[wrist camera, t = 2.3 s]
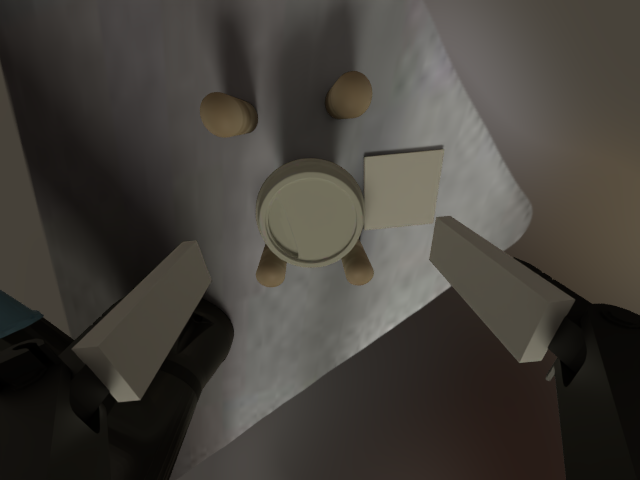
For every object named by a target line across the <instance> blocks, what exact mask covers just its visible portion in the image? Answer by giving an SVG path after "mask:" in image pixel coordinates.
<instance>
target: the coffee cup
mask: <svg viewBox="0 0 640 480" xmlns="http://www.w3.org/2000/svg"><path fill="white" fill-rule="evenodd" d="M256 221H257V225H258V229H259V231H260V234H261V236H262V237H263V239H264V241H265V243H266V245H267V246H268V247H269V249H270V250H271V251H272V252H273V253H274V254H275V255H276V256H278V257H279V258H280V259H282V260H284V261H285V262H288V263H290V264H293V265H296V266H300V267H310V268H312V267H322V266H326V265H329V264H332V263H334V262H336V261H338V260H339V259H341V258H342V257H344V256H345V255H346V254H347V253H349V251H350V250H351V249H352V248H353V247H354V245H355V244H356V242H357V241H358V239H359V236H360V234H361V231H362V228H363V225H364V221H365V204H364V198H363V195H362V192H361V189H360V187H359V185H358V184H357V182H356V181H355V179H354V178H353V177H352V176H351V175H350V174H349V173H348V172H347V171H346V170H345V169H343V168H342V167H340V166H339V165H337V164H335V163H332V162H330V161H327V160H323V159H317V158H304V159H298V160H294V161H291V162H289V163H286V164H284V165H282V166H281V167H279V168H278V169H276V170H275V171H274V172H273V173H272V174H271V175H270V176H269V177H268V178H267V179H266V181H265V182H264V184H263V185H262V187H261V189H260V191H259V194H258V197H257V202H256Z"/></svg>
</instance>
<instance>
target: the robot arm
mask: <svg viewBox="0 0 640 480" xmlns="http://www.w3.org/2000/svg"><path fill="white" fill-rule="evenodd" d="M429 260H430V261H431V262H432V263H433V265H434V266H435V267H436V268H437V269H438V270H439V271H440V273H441V274H442V275H443V276H444V277H445V278H446V279H447V281H448V282H449V283H450V284H451V285H452V286H453V287H454V289H455V290H456V291H457V292H458V293H459V294H460V295H461V297H462V298H463V299H464V300H465V301H466V302H467V303H468V305H469V306H470V307H471V308H472V309H473V310H474V311H475V313H476V314H477V315H478V316H479V317H480V318H481V320H482V321H483V322H484V323H485V324H486V325H487V326H488V327H489V329H490V330H491V331H492V332H493V333H494V334H495V336H496V337H497V338H498V339H499V340H500V341H501V342H502V343H503V345H504V346H505V347H506V348H507V349H508V350H509V351H510V353H511V354H512V355H513V356H514V357H515V358H516V360H517V361H518V362H519V363H522V362H532V361H541V360H542V359H543V357H544V355H545V353H546V351H547V350H548V349H550V350H551V351H552V352H553V353H554V354H555V355H556V356H557V359H556V360H555V362H554V364H553V365H552V367H551V369H550V370H549V372H548V374H547V376H546V380H549V381H550V380H551V379H552V377H553V376H555V379H556V389H557V398H558V408H559V417H560V427H561V435H562V445H563V455H564V464H565V474H566V480H640V315H638V314H635V313H633V312H631V311H629V310H626V309H623V308H620V307H617V306H613V305H608V304H592V303H590V302H589V301H587V300H585V299H584V298H582V297H581V296H579V295H577V294H576V293H575V292H573V291H571V290H570V289H568V288H567V287H565V286H564V285H562V284H560V283H559V282H557V281H556V280H552V278H551V277H550V276H548V275H547V274H545V273H542V272H541V271H540V270H539V269H537V268H536V267H534V266H532V265H531V264H529V263H527V262H525V261H522V260H519V259H517V258H515V257H514V258H512V257H511V256H509V255H508V254H506V253H505V252H503V251H502V250H500V249H499V248H497V247H496V246H494V245H493V244H491V243H490V242H488V241H487V240H485V239H484V238H482V237H481V236H479V235H478V234H476V233H475V232H473V231H472V230H470V229H469V228H467V227H466V226H464V225H463V224H461V223H460V222H458V221H457V220H455V219H454V218H452V217H451V216H444V217H436V221H435V228H434V234H433V240H432V246H431V253H430V259H429ZM211 281H212V280H211V277H210V275H209V272H208V269H207V267H206V264H205V261H204V259H203V256H202V253H201V251H200V248H199V245H198V243H197V240H195V241H185V242H182V243H181V244H180V245H179V246H178V247H177V248H176V249H174V250H173V251H172V252H171V253H170V254H169V255H168V256H167V257H166V258H165V259H164V260H163V261H162V262H161V263H160V264H159V265H158V266H157V267H156V268H155V269H154V270H153V271H152V272H151V273H150V274H149V275H148V276H147V277H145V278H144V279H143V280H142V281H141V282H140V283H139V284H138V285H137V286H136V287H135V288H134V289H133V290H132V291H131V292H130V293H129V294H128V295H127V296H125V297H124V298H122V299H121V300H119V301H118V302H116V303H115V304H113V305H112V306H111V307H110V308H109V309H108V310H106V311H105V312H104V313H103V314H102V317H99V318H98V319H97V320H96V321H95V322H94V323H93V325H91V326H89V327H88V328H87V329H86V330H85V331H84V332H83V333H82V334H81V335H80V336H79V337H78V338H77V339H76V340H73V339H72V338H71V337H69V336H68V335H66V334H65V333H64V332H62V331H61V330H59V329H58V328H57V327H56V326H54V325H53V324H51V323H50V322H49V321H47V320H46V319H45V318H43V316H44V315H42V314H41V313H40V312H39V311H36V310H31V309H29V308H28V307H26V306H25V305H23V304H21V303H20V302H19V301H17V300H16V299H14V298H12V297H11V296H9V295H8V294H6V293H5V292H3V291H2V290H0V480H169V479H170V476H171V473H172V470H173V468H174V465H175V462H176V459H177V457H178V454H179V451H180V449H181V446H182V443H183V440H184V438H185V435H186V432H187V429H188V427H189V424H190V421H191V419H192V416H193V413H194V410H195V408H196V405H197V402H198V400H199V397H200V394H201V392H202V390H203V388H204V387H205V385H206V384H207V382H208V381H209V380H210V378H211V377H212V376H213V374H214V373H215V372H216V370H217V369H218V367H219V366H220V364H221V363H222V362H223V361H224V360H225V358H226V357H227V355H228V353H229V351H230V348H231V345H232V342H233V337H234V331H233V327H232V324H231V322H230V320H229V319H228V317H227V316H226V315H225V314H224V313H223V312H222V311H221V310H220V309H219V308H217V307H216V306H214V305H213V304H211V303H209V302H207V301H205V300H203V299H201V298H202V296H203V295H204V293H205V291H206V290H207V288H208V286H209V285H210V283H211Z"/></svg>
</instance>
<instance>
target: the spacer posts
mask: <svg viewBox="0 0 640 480" xmlns="http://www.w3.org/2000/svg"><path fill="white" fill-rule="evenodd" d="M371 99H372V87H371V84H370V82H369V80H368V79H367V77H366V76H365V75H363V74H362V73H360V72H357V71H350V72H347V73H345V74H343V75H342V76H341V77H340V78H339V79H338V80H337V81H336V83H335V84H334V85H333V86H332V88H331V89H330V90H329V92H328V93H327V96H326V99H325V106H326V110H327V112H328V113H329V115H330V116H331V117H333V118H335V119H348V118H356V117H359V116H360V115H362V114H363V113H364V112H365V111H366V110H367V109H368V107H369V105H370V103H371ZM200 115H201V119H202V121H203V124H204V125H205V127H206V128H207V129H208V130H209V131H210V132H211V133H213V134H214V135H216V136H219V137H231V136H236V135H241V134H246V133H250V132H252V131H253V130H254V129H255V128H256V126H257V123H258V115H257V112H256V110H255V108H254V107H253V106H252V105H251V104H250V103H248V102H246V101H244V100H241V99H238V98H235V97H232V96H229V95H227V94H224V93H220V92H214V93H210V94H208V95H207V96H206V97H205V98H204V99H203V100H202V103H201V106H200ZM341 259H342V263H343V267H344V270H345V274H346V278H347V280H348V281H349V282H350V283H351V284H353V285H364V284H366V283H368V282H369V281H370V280H371V279H372V277H373V275H374V271H373V268H372V266H371V264H370V262H369V259H368V257H367V255H366V253H365V251H364V249H363V246H362V244H361V242H360V240H359V239H358V241H357V242H356V244H355V245H354V247H353V248H352V249H351V250H350V251H349V253H347V254H346V255H345V256H344V257H342V258H341ZM286 264H287V262H285V261H284V260H282V259H280V258H279V257H278V256H276V255H275V254H274V253H273V252H272V251H271V250H270V249H269V247H268V246H267V245H266V244H265V247H264V250H263V253H262V256H261V260H260V263H259V266H258V269H257V272H256V278H257V280H258V282H259V283H260V284H262V285H264V286H266V287H276V286H279V285H280V284H281V283H282V282H283V281H284V279H285V272H286Z"/></svg>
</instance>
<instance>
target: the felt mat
mask: <svg viewBox="0 0 640 480" xmlns="http://www.w3.org/2000/svg"><path fill="white" fill-rule="evenodd" d="M443 155H444V149H439V150H429V151H419V152H409V153H398V154H388V155H378V156H367V157H364V204H365V221H364V230H371V229H381V228H391V227H401V226H411V225H421V224H430V223H433V220H434V213H435V207H436V200H437V194H438V187H439V181H440V175H441V168H442V162H443Z"/></svg>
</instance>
